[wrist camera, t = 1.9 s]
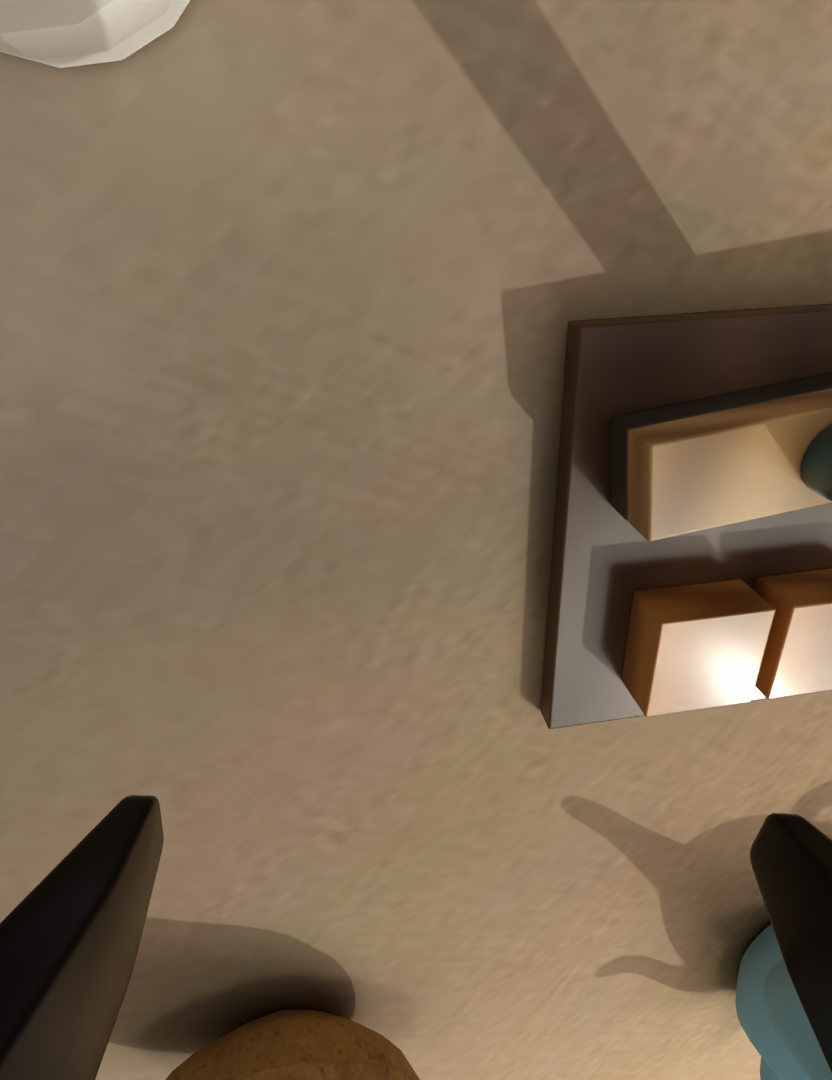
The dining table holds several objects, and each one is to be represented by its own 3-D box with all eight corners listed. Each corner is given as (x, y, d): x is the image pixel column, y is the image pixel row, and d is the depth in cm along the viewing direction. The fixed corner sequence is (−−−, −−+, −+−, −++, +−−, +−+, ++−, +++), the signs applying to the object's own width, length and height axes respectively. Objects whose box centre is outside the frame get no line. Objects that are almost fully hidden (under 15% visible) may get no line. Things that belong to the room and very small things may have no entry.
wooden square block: (734, 665, 25) (767, 700, 23) (755, 576, 23) (793, 606, 21) (828, 652, 25) (868, 685, 23) (857, 564, 23) (902, 593, 21)
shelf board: (540, 712, 25) (548, 730, 25) (567, 320, 19) (580, 326, 18) (857, 668, 27) (875, 683, 26) (991, 293, 20) (1023, 296, 19)
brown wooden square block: (620, 680, 24) (645, 717, 22) (633, 590, 22) (661, 623, 20) (719, 667, 24) (751, 702, 23) (740, 577, 23) (776, 608, 21)
